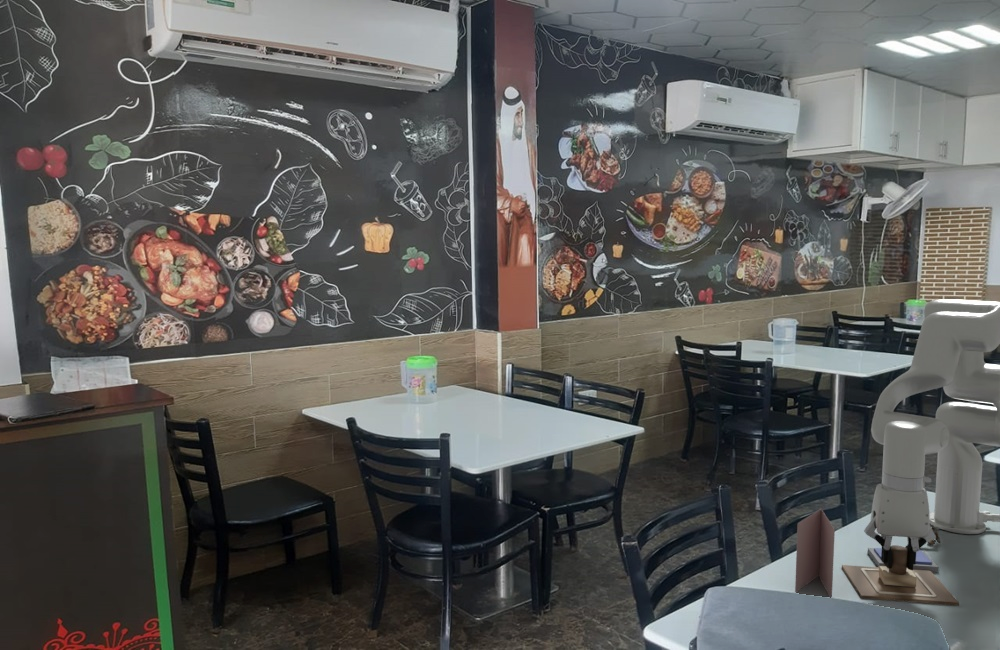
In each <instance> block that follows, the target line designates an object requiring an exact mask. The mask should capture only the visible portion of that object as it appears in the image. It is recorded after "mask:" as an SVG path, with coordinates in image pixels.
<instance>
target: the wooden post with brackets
mask: <svg viewBox="0 0 1000 650" xmlns="http://www.w3.org/2000/svg"><path fill="white" fill-rule="evenodd" d="M931 529H932V530H933V532H934V534H935V535H936V539H934V540H932V541H929V542H927V543H926V545H927V546H929V547H931V546H934V545H936V543H938V544H940V543H941V538H940V536H939V534H938V532H939V531H940V530H939V529H940V528H939V527H935V526H932V527H931Z"/></svg>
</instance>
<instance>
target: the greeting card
mask: <svg viewBox="0 0 1000 650" xmlns="http://www.w3.org/2000/svg"><path fill="white" fill-rule="evenodd" d="M796 526H797V528H796V529H797V530H796V532H797V533H796V554H795V555H796V558H795V584H794V585H795V587H794V590H795V591H794V593H795V592H796V593H798V592H799V591H800V590H802V589H803V588H804V587H805V585H806V586H807V585H808V584H809V583H811V582H813V580H815V579H816V578H817V577H819V579H820V581H821V583H822V585H823V586H824V589H825V591H826V593H827V594H828V596H829V598H830V597H832V598H833V580H834V579H833V578H834V559H835V558H834V556H835V555H834V554H835V534H836V533H835V530H836V529H835V528H834V526H833V525H832V523H831V522H830V520H829V518H828V517H827V516H826V514H825V512H824V511H823V510H822V508H819V509H818V510H817V511H815V512H814V513H812V514H810V515H808V516H807V517H805V518H803V519H802V520H801V521H799V522H797V525H796ZM803 586H804V587H803ZM802 587H803V588H802ZM801 588H802V589H801ZM799 589H800V590H799ZM798 590H799V591H798ZM797 591H798V592H797Z"/></svg>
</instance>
